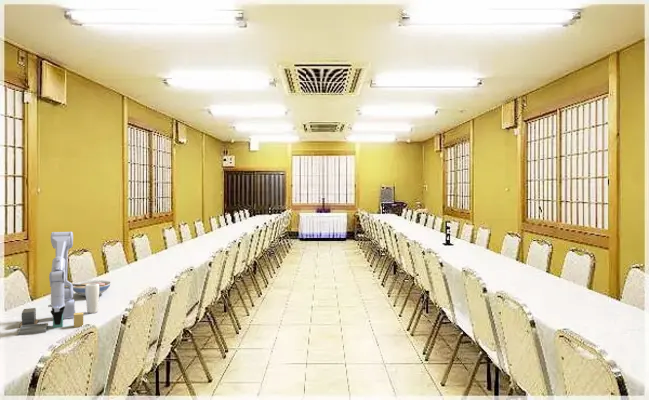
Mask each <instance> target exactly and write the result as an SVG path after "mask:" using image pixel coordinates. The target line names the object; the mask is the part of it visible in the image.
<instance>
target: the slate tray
mask: <svg viewBox="0 0 649 400" xmlns="http://www.w3.org/2000/svg"><path fill="white" fill-rule="evenodd" d="M48 327H49V323H48V322H43V323H37V324H32V325H22V326H21V327H20V328H19V329H18V331H17V336H23V335H33V334H41V333H46V332H47V331H48Z"/></svg>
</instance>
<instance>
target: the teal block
mask: <svg viewBox="0 0 649 400" xmlns="http://www.w3.org/2000/svg"><path fill="white" fill-rule="evenodd" d="M63 326H64V319H63V314H62V317H61V323H60V325H55V323H54V318H53V317H52V328H53V329H54V328H63Z"/></svg>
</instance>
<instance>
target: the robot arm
mask: <svg viewBox="0 0 649 400" xmlns="http://www.w3.org/2000/svg"><path fill="white" fill-rule="evenodd" d="M50 243H51V247H52V248H53V249H55V257H54V258H53V259H52V264H51V271H50V272H49V273H48V274H49V276H48V277H49V278H48V279H49V287H50V304H48V305H47V306H48V308H51V309H50V314H51V315H52V319H53V318H54V323H55V325H60V323H61V317H62V314H63V320H66V319H74V313H76V308H75V307H76V305H75V299H74V291H73V285H72V284H73V283H72V282H70V281H69V280H68V261H69V260H68V256H69V255H68V254H69V250H70V249H72V248H73V246H74V232H73V231H52V232H51V233H50Z"/></svg>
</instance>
